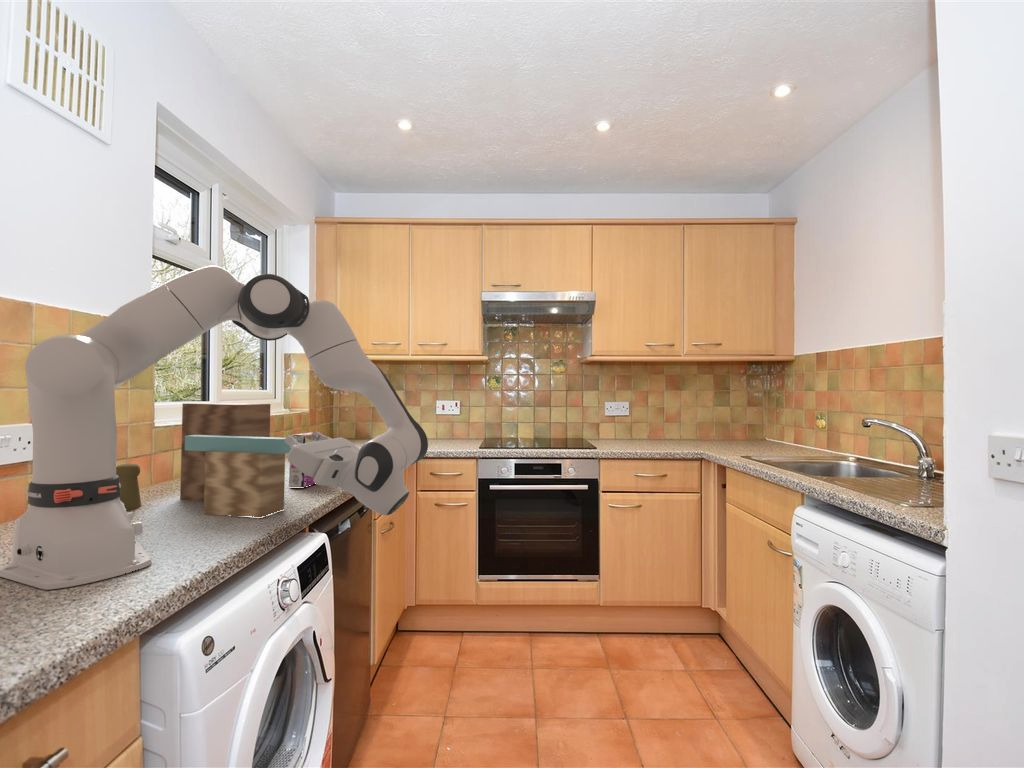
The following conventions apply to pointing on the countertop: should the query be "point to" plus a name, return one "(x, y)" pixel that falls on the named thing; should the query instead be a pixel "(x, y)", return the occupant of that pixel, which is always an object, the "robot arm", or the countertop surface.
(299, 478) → the candy bar box
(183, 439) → the walnut stand
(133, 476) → the cork
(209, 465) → the oak block
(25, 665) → the countertop surface
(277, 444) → the teal bar
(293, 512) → the countertop surface
